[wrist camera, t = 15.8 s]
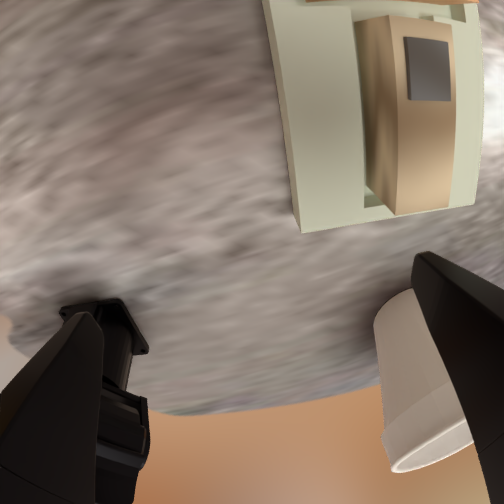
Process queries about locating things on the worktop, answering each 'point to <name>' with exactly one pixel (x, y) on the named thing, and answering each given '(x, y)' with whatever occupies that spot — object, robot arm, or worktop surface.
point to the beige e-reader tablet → (408, 110)
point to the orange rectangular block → (425, 1)
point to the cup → (415, 389)
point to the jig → (357, 104)
